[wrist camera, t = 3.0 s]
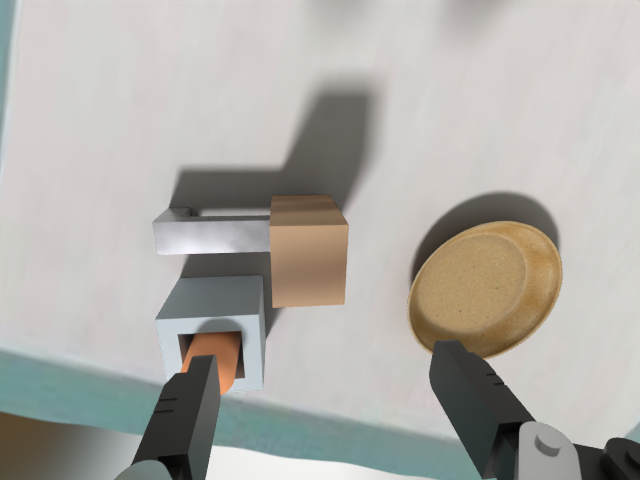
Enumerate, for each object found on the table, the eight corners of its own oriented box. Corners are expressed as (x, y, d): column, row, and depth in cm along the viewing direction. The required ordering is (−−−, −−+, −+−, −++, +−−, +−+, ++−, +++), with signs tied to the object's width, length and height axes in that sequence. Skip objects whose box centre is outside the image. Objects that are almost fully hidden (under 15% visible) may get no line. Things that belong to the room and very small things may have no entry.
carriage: (271, 194, 25) (269, 226, 18) (329, 193, 25) (348, 224, 18) (274, 256, 27) (272, 307, 20) (327, 255, 27) (344, 304, 20)
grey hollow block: (179, 277, 28) (154, 319, 22) (262, 275, 29) (258, 314, 23) (189, 344, 31) (170, 396, 25) (265, 340, 31) (263, 389, 26)
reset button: (197, 307, 27) (175, 358, 21) (241, 305, 27) (232, 354, 22) (201, 342, 28) (183, 399, 23) (244, 340, 29) (236, 395, 23)
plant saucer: (550, 197, 30) (574, 205, 27) (535, 329, 35) (554, 345, 33) (391, 229, 29) (401, 240, 27) (402, 358, 35) (412, 377, 32)
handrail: (168, 207, 26) (152, 222, 22) (332, 205, 27) (340, 219, 24) (172, 236, 27) (157, 254, 23) (331, 232, 28) (338, 249, 25)
